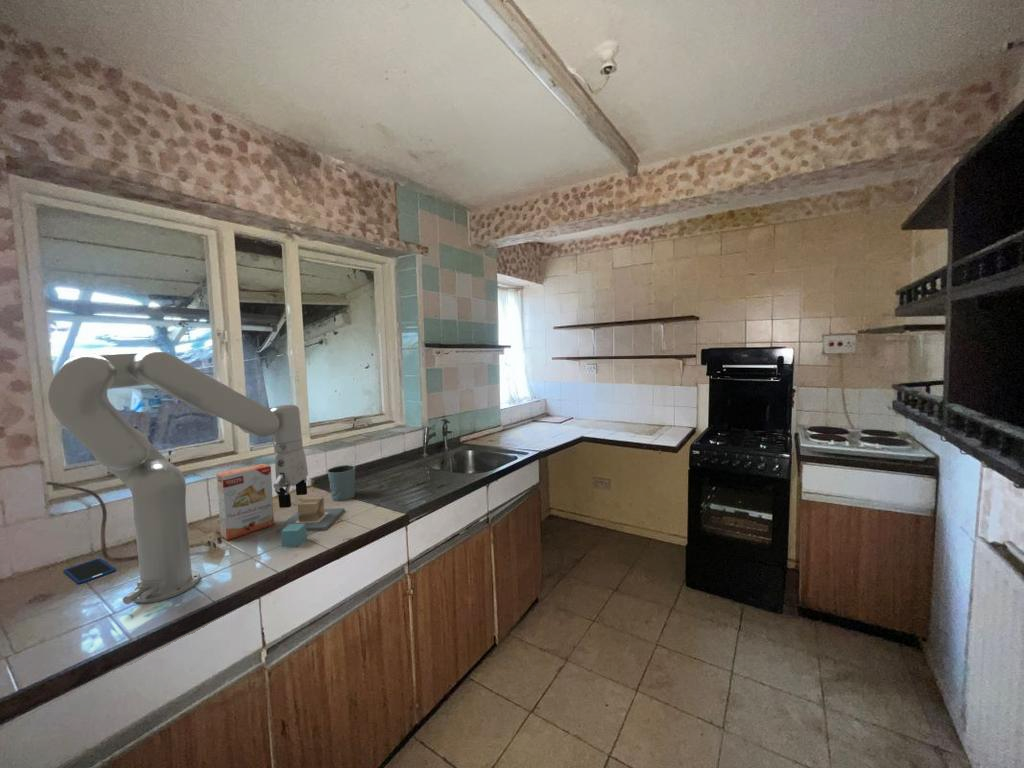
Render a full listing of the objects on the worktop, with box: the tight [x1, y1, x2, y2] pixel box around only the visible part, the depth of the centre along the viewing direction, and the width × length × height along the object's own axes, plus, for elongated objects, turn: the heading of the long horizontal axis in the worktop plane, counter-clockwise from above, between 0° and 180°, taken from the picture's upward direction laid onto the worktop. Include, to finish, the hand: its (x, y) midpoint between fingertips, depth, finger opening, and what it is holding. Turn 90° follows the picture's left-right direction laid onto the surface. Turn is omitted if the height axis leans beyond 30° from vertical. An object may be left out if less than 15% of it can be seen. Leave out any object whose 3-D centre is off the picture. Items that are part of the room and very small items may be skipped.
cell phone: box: [63, 557, 117, 585], centre depth 107 cm, size 7×14×1 cm, turn 60°
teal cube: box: [280, 524, 308, 548], centre depth 121 cm, size 5×5×5 cm
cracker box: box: [216, 463, 275, 541], centre depth 129 cm, size 14×6×21 cm, turn 144°
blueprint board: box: [275, 507, 345, 533], centre depth 137 cm, size 16×16×1 cm
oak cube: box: [297, 496, 325, 522], centre depth 136 cm, size 6×6×6 cm
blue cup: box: [327, 464, 356, 502], centre depth 158 cm, size 10×10×12 cm
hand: (294, 500), depth 120 cm, fingers open, 9 cm apart
